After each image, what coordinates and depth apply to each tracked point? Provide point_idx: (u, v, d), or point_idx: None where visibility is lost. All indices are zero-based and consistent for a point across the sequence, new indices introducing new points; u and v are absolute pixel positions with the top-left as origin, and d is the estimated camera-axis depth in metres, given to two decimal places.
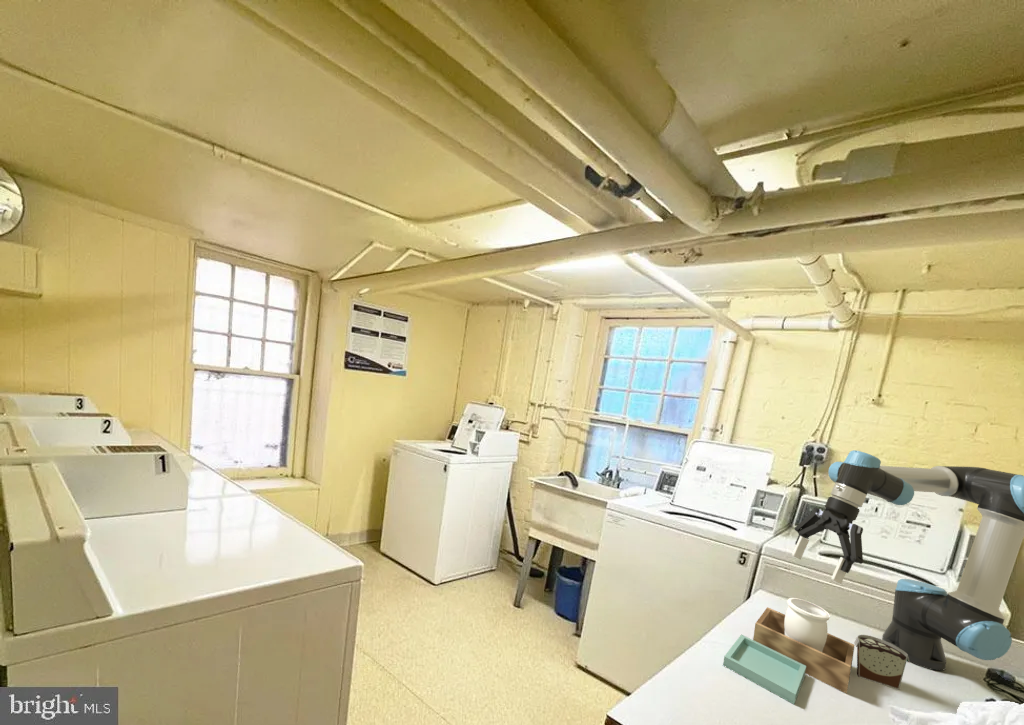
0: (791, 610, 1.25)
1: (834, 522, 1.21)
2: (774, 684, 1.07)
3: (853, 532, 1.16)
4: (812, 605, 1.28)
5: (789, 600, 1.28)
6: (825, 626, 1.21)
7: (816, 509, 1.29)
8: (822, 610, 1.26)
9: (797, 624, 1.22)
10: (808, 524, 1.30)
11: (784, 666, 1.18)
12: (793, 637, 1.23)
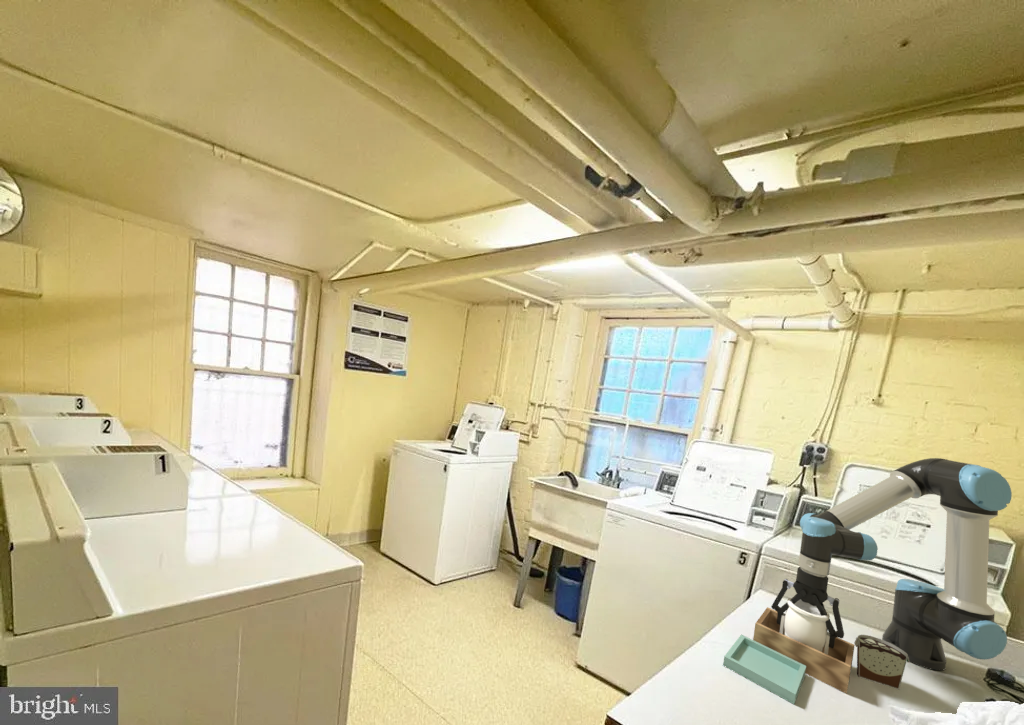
0: (791, 609, 1.25)
1: (814, 598, 1.23)
2: (774, 684, 1.07)
3: (836, 609, 1.20)
4: (812, 605, 1.28)
5: (789, 600, 1.28)
6: (825, 626, 1.21)
7: (785, 582, 1.28)
8: None
9: (797, 624, 1.22)
10: (781, 598, 1.29)
11: (784, 666, 1.18)
12: (793, 637, 1.23)
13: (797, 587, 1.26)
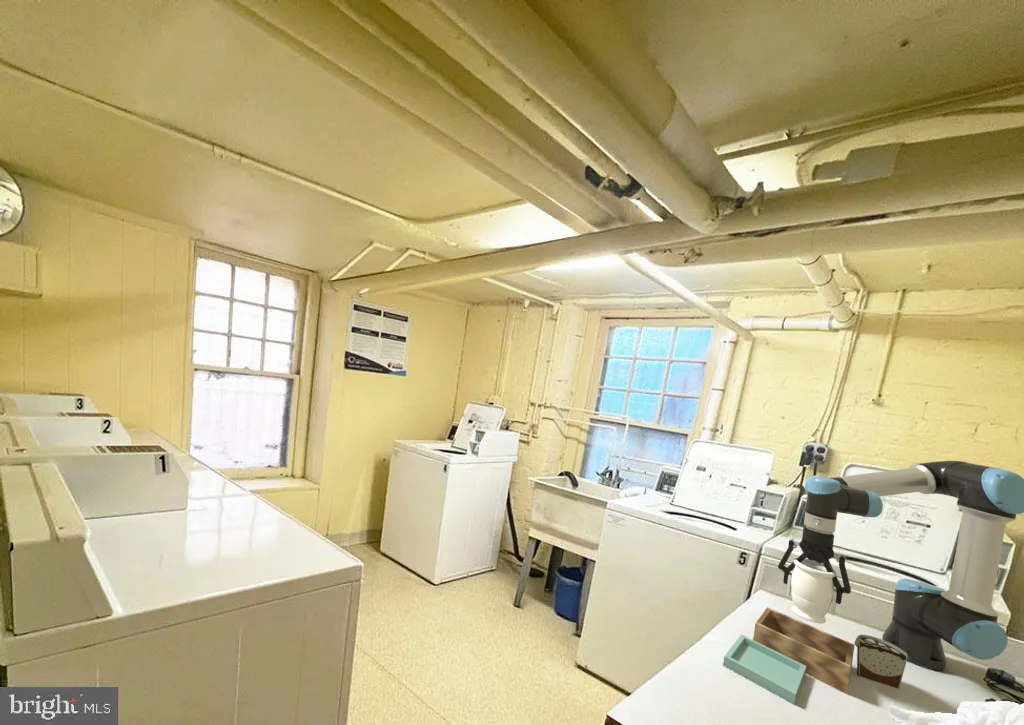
0: (798, 568, 1.26)
1: (820, 555, 1.23)
2: (774, 684, 1.07)
3: (842, 565, 1.20)
4: (818, 564, 1.29)
5: (795, 559, 1.28)
6: (832, 582, 1.21)
7: (792, 542, 1.29)
8: None
9: (803, 582, 1.23)
10: None
11: (784, 666, 1.18)
12: (800, 595, 1.23)
13: (803, 546, 1.27)
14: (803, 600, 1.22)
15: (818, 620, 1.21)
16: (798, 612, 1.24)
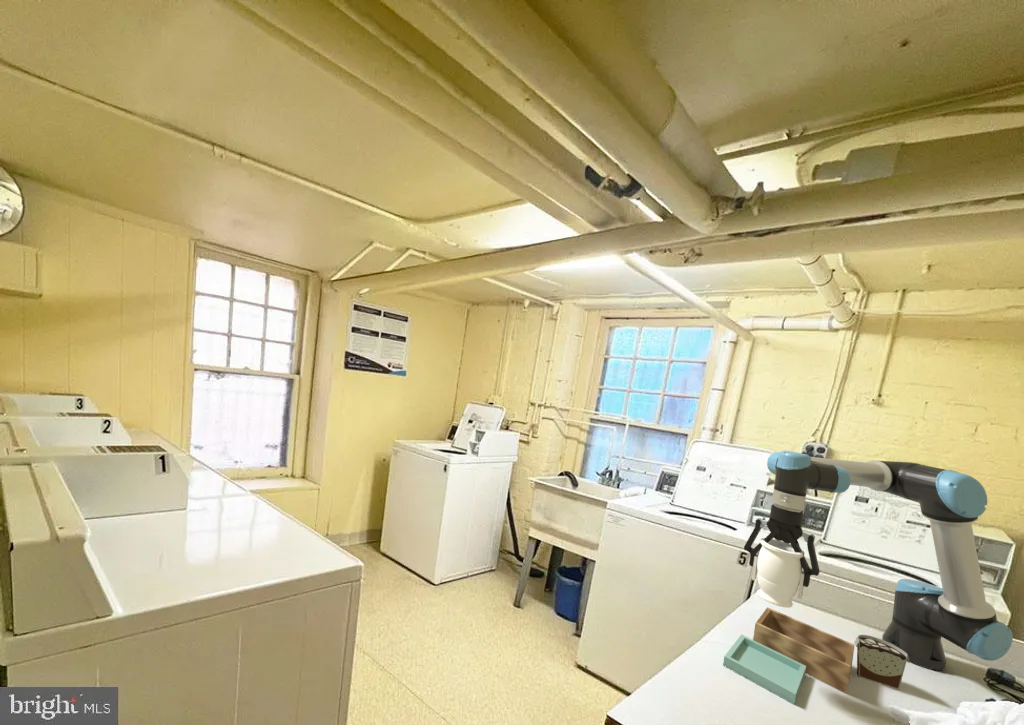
0: (764, 548, 1.17)
1: (788, 535, 1.14)
2: (774, 684, 1.07)
3: (811, 545, 1.11)
4: (787, 545, 1.20)
5: (762, 539, 1.19)
6: (799, 563, 1.12)
7: (759, 521, 1.20)
8: None
9: (769, 562, 1.14)
10: (754, 538, 1.21)
11: (784, 666, 1.18)
12: (765, 577, 1.14)
13: (770, 525, 1.18)
14: (768, 583, 1.14)
15: (783, 603, 1.12)
16: (763, 595, 1.15)
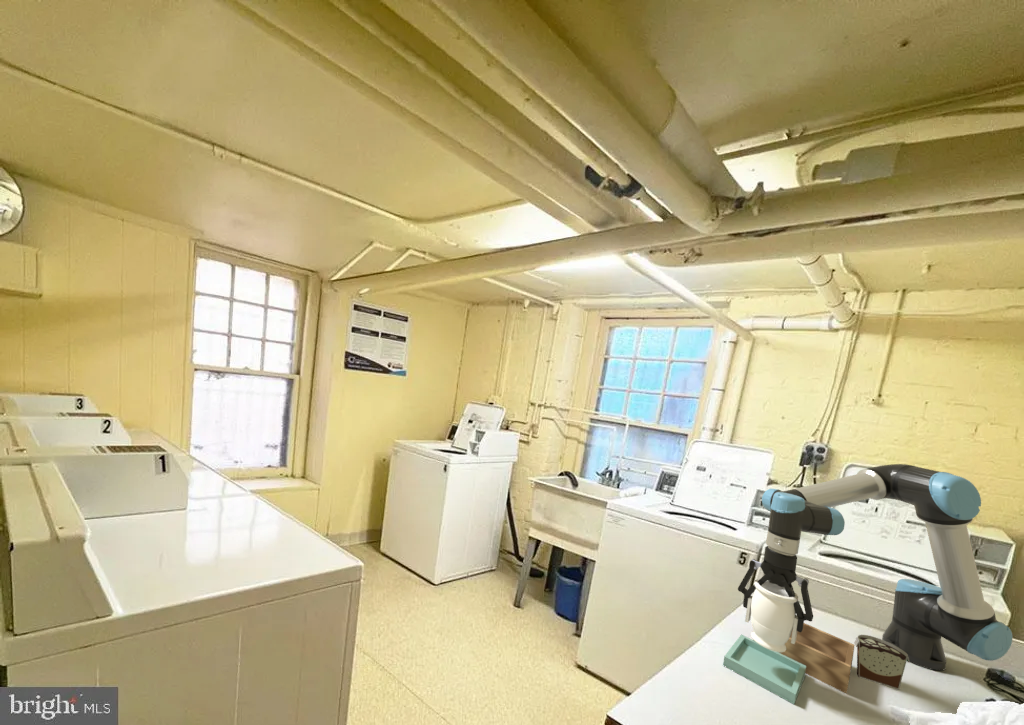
0: (758, 591, 1.16)
1: (782, 578, 1.14)
2: (774, 684, 1.07)
3: (804, 590, 1.11)
4: (781, 587, 1.19)
5: (756, 581, 1.19)
6: (793, 608, 1.12)
7: (753, 563, 1.19)
8: None
9: (763, 606, 1.13)
10: (748, 580, 1.20)
11: (784, 666, 1.18)
12: (759, 620, 1.14)
13: (764, 567, 1.18)
14: (762, 627, 1.13)
15: (777, 648, 1.12)
16: (757, 639, 1.15)
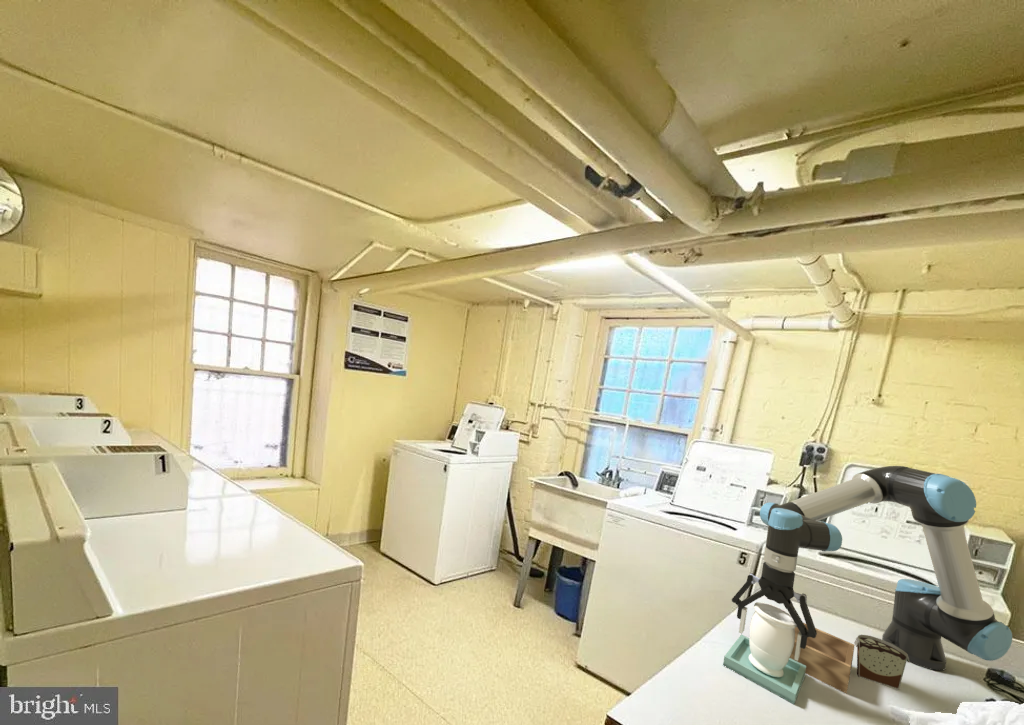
0: (757, 615, 1.16)
1: (780, 595, 1.14)
2: (774, 684, 1.07)
3: (803, 605, 1.11)
4: (781, 611, 1.19)
5: (756, 604, 1.19)
6: (792, 634, 1.11)
7: (751, 577, 1.19)
8: (791, 617, 1.16)
9: (762, 630, 1.13)
10: (744, 592, 1.21)
11: None
12: (757, 644, 1.14)
13: (762, 583, 1.17)
14: (760, 651, 1.13)
15: (774, 673, 1.12)
16: (754, 662, 1.15)
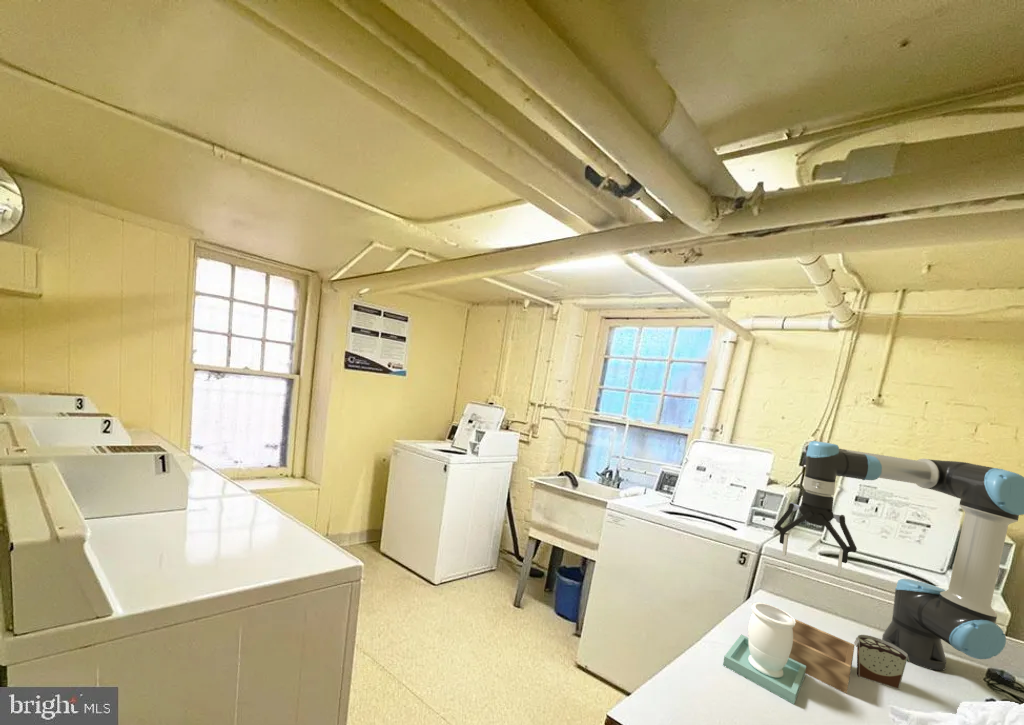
0: (755, 615, 1.16)
1: (821, 518, 1.25)
2: (774, 684, 1.07)
3: (843, 524, 1.22)
4: (778, 610, 1.19)
5: (753, 605, 1.19)
6: (790, 633, 1.11)
7: (792, 505, 1.30)
8: (788, 616, 1.17)
9: (760, 631, 1.13)
10: None
11: (784, 666, 1.18)
12: (756, 645, 1.14)
13: (803, 509, 1.29)
14: (759, 652, 1.13)
15: (774, 674, 1.12)
16: (754, 664, 1.15)
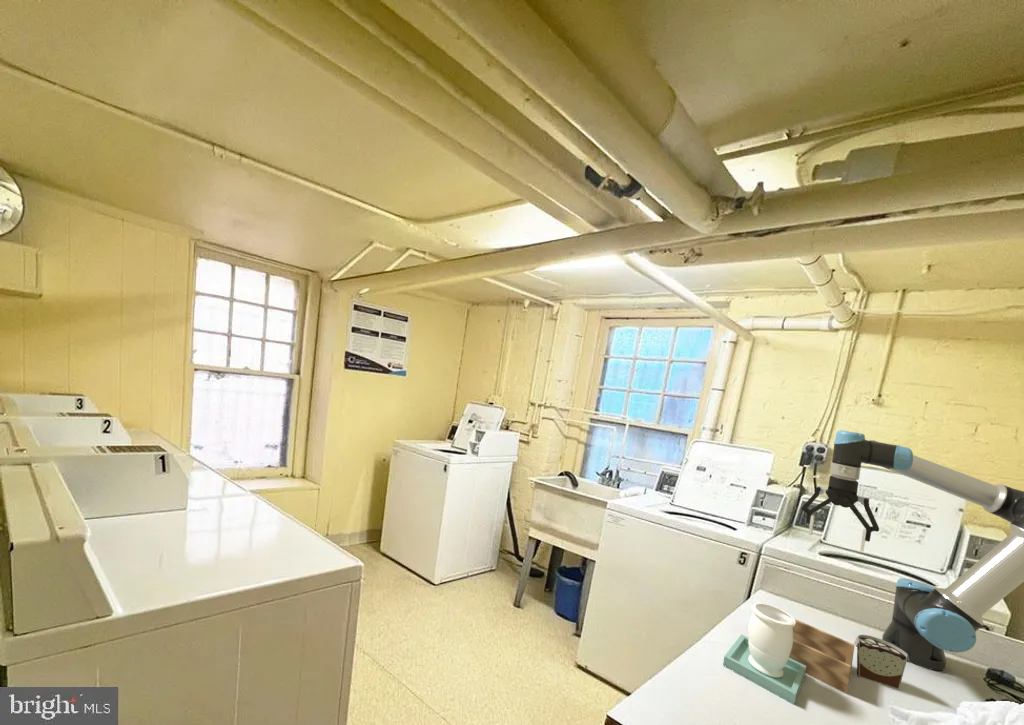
0: (755, 615, 1.16)
1: (846, 500, 1.36)
2: (774, 684, 1.07)
3: (867, 506, 1.33)
4: (778, 610, 1.19)
5: (753, 605, 1.19)
6: (790, 633, 1.11)
7: (819, 488, 1.42)
8: (788, 616, 1.17)
9: (760, 631, 1.13)
10: None
11: (784, 666, 1.18)
12: (756, 645, 1.14)
13: (829, 493, 1.40)
14: (759, 652, 1.13)
15: (774, 674, 1.12)
16: (754, 664, 1.15)
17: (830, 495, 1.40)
